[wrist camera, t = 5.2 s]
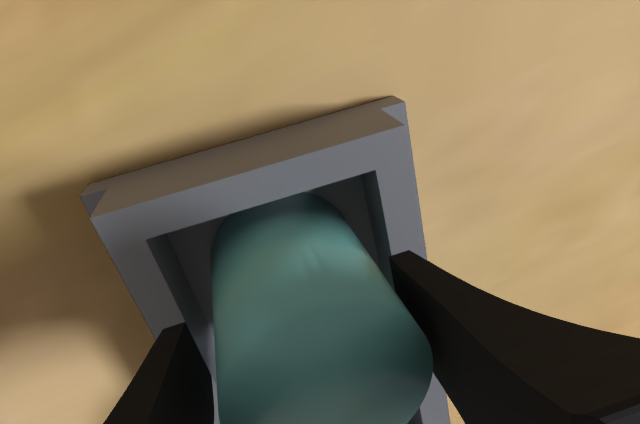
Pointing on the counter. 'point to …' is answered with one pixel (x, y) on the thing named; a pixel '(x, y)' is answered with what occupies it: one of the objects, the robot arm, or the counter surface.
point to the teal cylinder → (309, 322)
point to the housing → (252, 190)
